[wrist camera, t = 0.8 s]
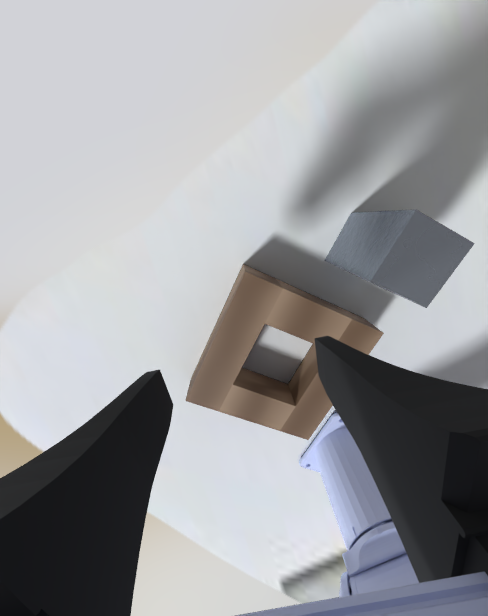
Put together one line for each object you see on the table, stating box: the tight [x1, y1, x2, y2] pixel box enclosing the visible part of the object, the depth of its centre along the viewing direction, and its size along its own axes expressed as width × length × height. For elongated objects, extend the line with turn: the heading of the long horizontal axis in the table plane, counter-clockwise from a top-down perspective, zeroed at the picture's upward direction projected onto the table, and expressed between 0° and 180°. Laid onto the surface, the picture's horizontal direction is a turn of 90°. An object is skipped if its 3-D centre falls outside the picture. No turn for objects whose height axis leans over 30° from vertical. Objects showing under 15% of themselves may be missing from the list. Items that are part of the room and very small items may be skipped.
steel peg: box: [325, 210, 474, 308], centre depth 16 cm, size 4×4×7 cm
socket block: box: [186, 264, 383, 440], centre depth 21 cm, size 12×12×3 cm
